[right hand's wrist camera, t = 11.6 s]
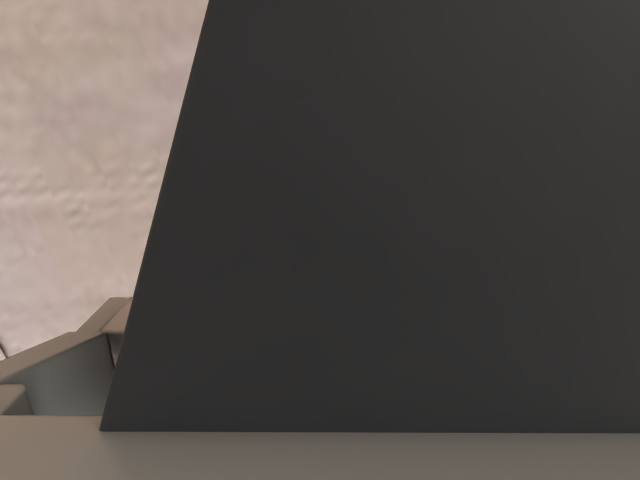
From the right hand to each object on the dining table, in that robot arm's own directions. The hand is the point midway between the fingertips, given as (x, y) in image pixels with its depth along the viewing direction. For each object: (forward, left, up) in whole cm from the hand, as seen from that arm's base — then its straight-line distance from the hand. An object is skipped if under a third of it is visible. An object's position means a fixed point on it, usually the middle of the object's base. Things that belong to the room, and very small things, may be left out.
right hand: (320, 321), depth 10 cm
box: (+6, +5, -4) cm, 9 cm away
